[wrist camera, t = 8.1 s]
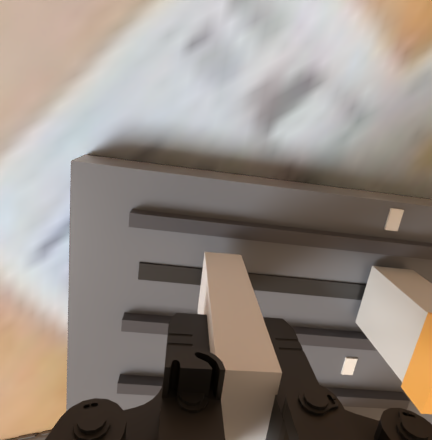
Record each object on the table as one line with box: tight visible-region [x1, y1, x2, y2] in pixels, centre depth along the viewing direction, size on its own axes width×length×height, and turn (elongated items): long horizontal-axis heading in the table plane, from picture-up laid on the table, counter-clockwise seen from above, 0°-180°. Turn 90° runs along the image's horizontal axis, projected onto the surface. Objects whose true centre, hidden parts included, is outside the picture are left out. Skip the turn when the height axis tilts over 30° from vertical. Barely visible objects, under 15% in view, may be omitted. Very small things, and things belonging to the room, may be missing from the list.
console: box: [67, 155, 432, 424], centre depth 18 cm, size 16×20×3 cm
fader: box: [356, 266, 432, 414], centre depth 14 cm, size 3×2×5 cm
